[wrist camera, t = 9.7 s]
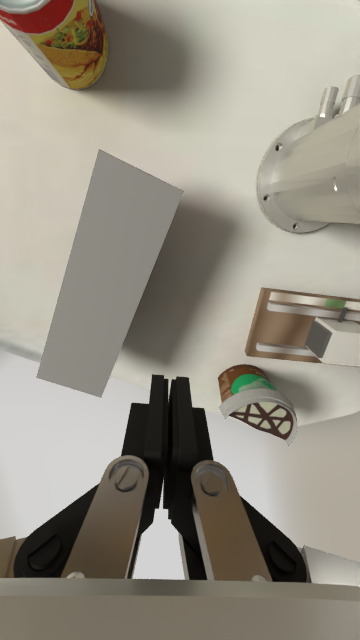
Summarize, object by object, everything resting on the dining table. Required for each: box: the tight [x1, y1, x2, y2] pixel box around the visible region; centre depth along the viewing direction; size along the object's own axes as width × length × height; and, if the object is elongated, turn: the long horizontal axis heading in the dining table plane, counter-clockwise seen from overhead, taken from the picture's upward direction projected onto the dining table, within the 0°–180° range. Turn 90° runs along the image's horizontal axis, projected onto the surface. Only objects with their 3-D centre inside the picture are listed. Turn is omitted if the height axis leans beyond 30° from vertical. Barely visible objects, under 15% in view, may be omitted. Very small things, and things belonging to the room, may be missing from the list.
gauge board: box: [245, 288, 360, 367], centre depth 38 cm, size 24×11×6 cm, turn 83°
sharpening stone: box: [37, 149, 184, 397], centre depth 31 cm, size 25×8×11 cm, turn 156°
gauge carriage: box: [305, 307, 360, 367], centre depth 37 cm, size 7×7×5 cm
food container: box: [218, 364, 297, 446], centre depth 40 cm, size 12×6×10 cm, turn 60°
